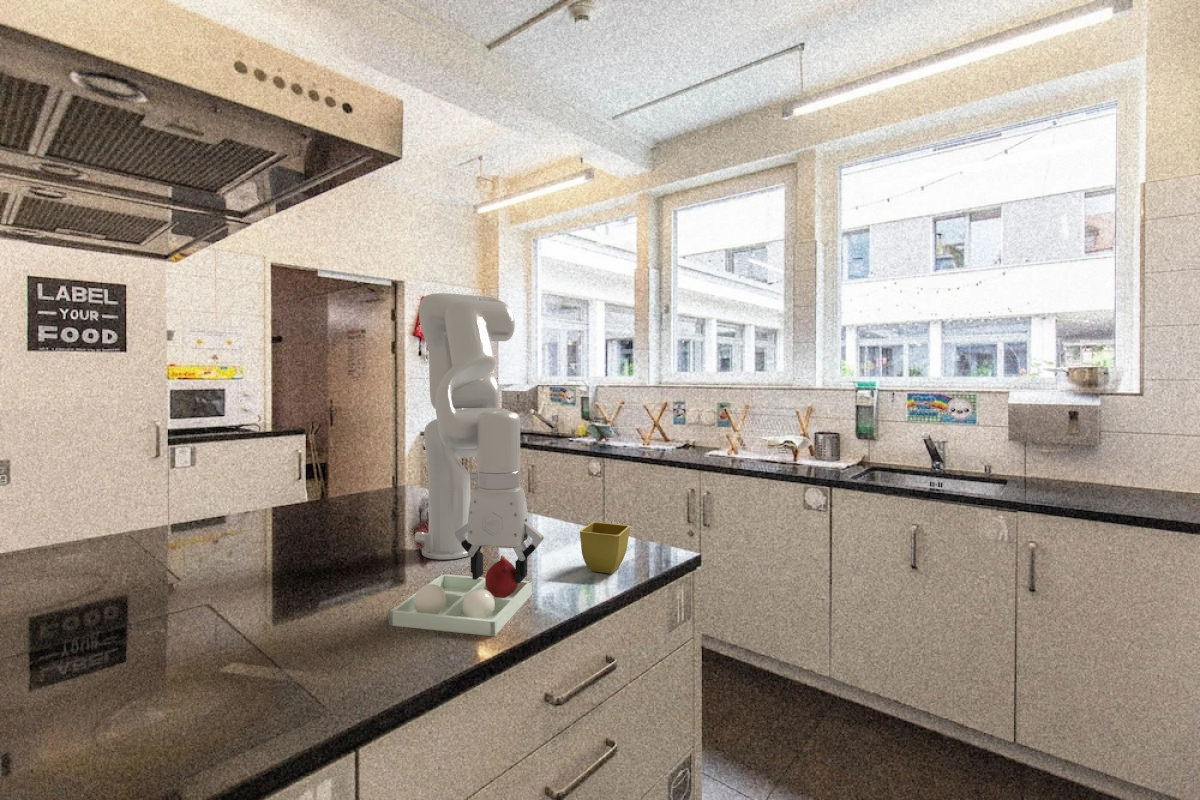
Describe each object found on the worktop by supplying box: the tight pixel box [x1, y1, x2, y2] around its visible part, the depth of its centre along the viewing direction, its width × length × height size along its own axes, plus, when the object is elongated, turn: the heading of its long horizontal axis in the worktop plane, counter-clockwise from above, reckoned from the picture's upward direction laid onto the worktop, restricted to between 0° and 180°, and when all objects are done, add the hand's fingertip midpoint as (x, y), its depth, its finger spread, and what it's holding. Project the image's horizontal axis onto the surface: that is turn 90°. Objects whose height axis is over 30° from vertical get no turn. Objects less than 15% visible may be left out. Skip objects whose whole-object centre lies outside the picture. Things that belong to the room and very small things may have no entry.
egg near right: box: [463, 588, 495, 619], centre depth 93 cm, size 5×5×5 cm
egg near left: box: [414, 583, 446, 614], centre depth 95 cm, size 5×5×5 cm
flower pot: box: [579, 521, 631, 575], centre depth 122 cm, size 9×9×9 cm
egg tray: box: [388, 573, 533, 637], centre depth 98 cm, size 18×18×3 cm
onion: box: [484, 554, 518, 598], centre depth 101 cm, size 6×6×8 cm
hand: (498, 578), depth 101 cm, fingers open, 7 cm apart
